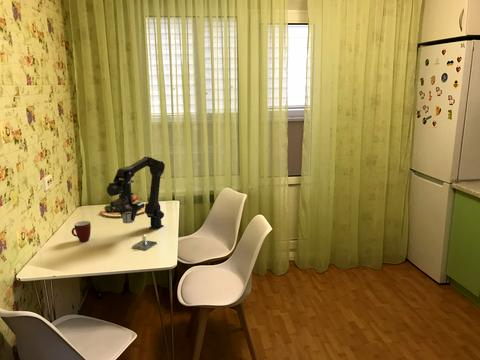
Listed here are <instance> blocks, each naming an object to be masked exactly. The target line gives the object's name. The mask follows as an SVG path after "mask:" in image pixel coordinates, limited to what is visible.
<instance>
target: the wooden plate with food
mask: <svg viewBox="0 0 480 360" xmlns="http://www.w3.org/2000/svg"><path fill="white" fill-rule="evenodd" d="M137 196H138V195H132V200H134V202H133V203H136V202H141V201H140V200H138V197H137ZM142 202H143V203H144V206H145V204H146V203H147V202H145V201H142ZM129 205H130V204H129ZM130 209H132V207H130V206H126V211H125V213H126V212H131V211H130ZM100 214H101V216H102V217H104V218H108V219H109V218H110V219H123V218H122V216H121V214H120V212H119V210H117V209H115V207H111V205H110V203H109V204H106V205H105V206H104V207H103V208H102V209H101V211H100ZM143 214H146V213H145V207H144V208H141V209H139V210H138V212H137V214H136V217H137V216H140V215H143Z"/></svg>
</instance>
